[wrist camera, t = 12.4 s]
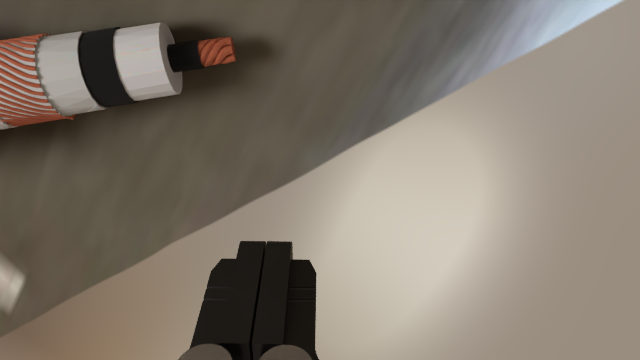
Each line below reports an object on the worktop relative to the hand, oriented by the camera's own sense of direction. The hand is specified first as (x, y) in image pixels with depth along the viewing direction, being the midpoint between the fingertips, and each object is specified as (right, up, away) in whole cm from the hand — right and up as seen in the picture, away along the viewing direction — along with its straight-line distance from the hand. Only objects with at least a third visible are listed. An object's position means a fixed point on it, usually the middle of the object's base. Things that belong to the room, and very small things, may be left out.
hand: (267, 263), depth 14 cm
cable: (-23, +13, +30) cm, 40 cm away
